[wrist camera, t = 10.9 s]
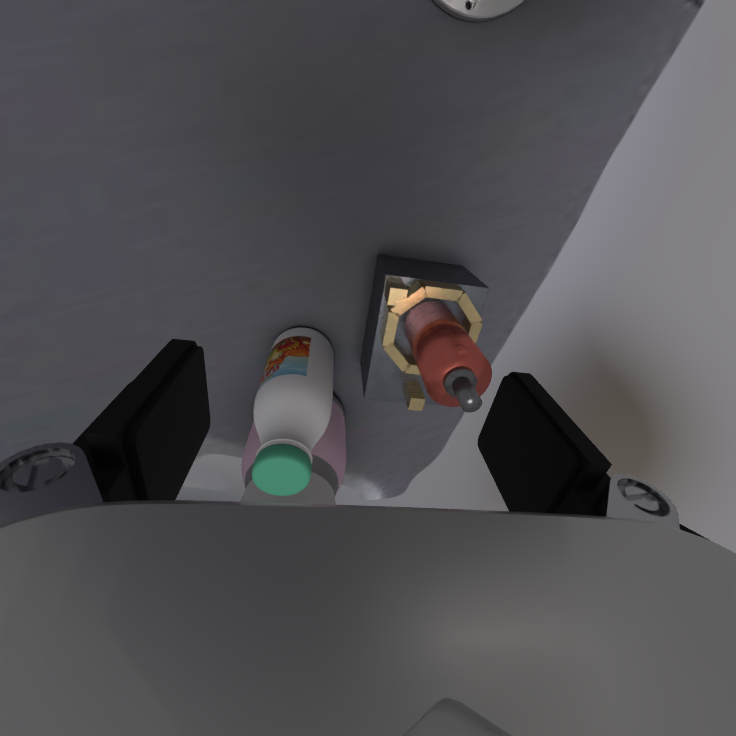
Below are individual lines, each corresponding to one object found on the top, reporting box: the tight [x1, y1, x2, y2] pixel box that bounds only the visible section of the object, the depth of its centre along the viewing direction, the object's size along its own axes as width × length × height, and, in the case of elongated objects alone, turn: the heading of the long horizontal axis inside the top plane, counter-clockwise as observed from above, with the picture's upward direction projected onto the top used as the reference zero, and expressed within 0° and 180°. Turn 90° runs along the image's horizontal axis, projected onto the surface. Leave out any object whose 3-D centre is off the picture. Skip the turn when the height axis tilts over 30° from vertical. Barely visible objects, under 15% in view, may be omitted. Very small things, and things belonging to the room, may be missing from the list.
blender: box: [240, 396, 346, 505], centre depth 36 cm, size 16×12×32 cm
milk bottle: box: [252, 327, 334, 496], centre depth 36 cm, size 8×8×20 cm
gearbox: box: [360, 254, 489, 411], centre depth 38 cm, size 14×11×11 cm
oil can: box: [404, 301, 492, 412], centre depth 29 cm, size 5×5×13 cm
